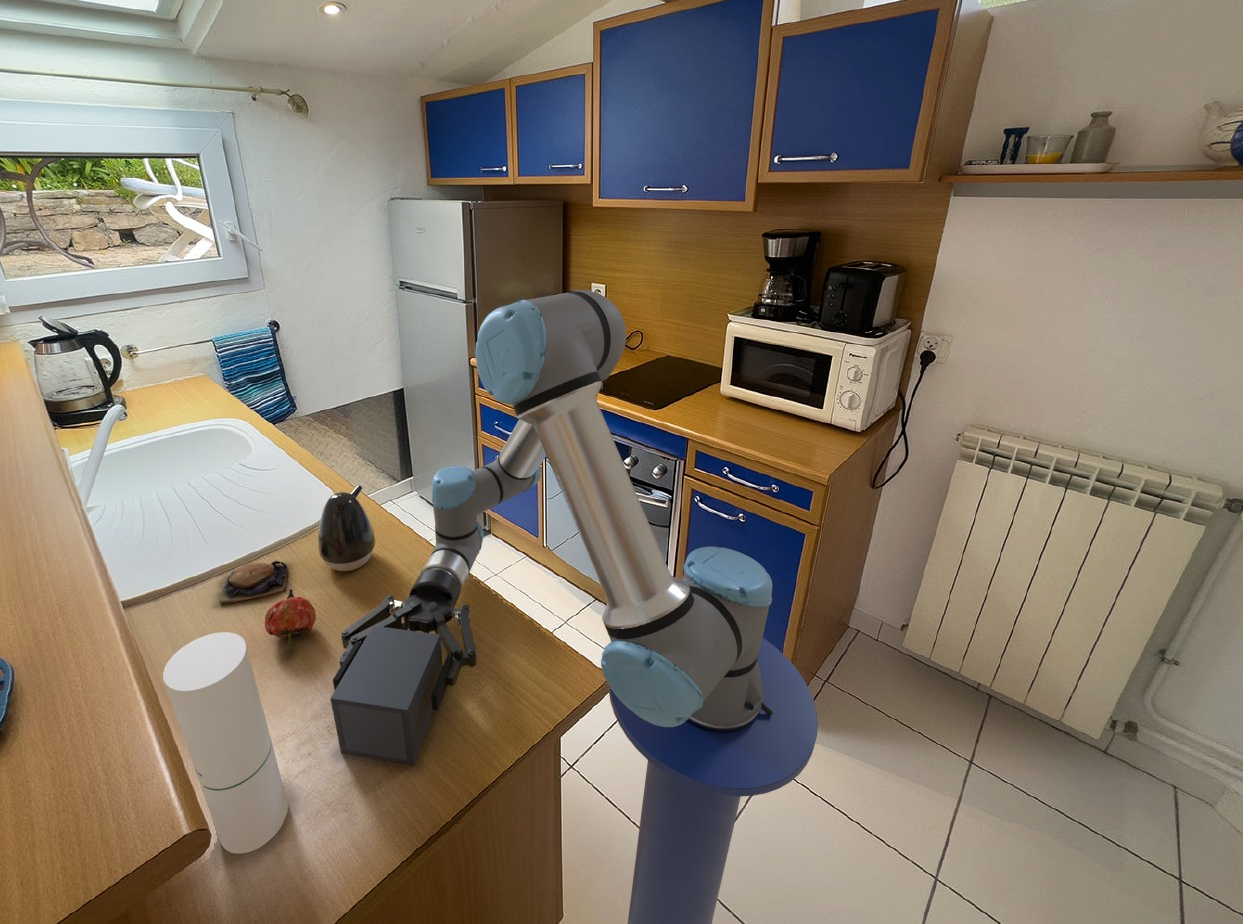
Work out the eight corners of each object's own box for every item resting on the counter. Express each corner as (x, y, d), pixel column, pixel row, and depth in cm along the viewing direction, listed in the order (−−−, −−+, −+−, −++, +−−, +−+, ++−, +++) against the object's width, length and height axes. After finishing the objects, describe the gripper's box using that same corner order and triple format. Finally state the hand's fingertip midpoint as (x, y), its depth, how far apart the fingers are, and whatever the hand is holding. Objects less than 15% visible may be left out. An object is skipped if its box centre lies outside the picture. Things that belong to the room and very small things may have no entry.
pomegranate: (320, 654, 89) (326, 590, 94) (300, 650, 83) (308, 582, 88) (274, 659, 89) (283, 595, 94) (250, 655, 83) (261, 586, 88)
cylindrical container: (266, 776, 69) (224, 622, 59) (300, 811, 65) (260, 653, 56) (207, 827, 64) (149, 666, 54) (239, 869, 60) (184, 704, 50)
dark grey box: (444, 686, 81) (440, 634, 78) (414, 765, 70) (407, 710, 67) (380, 676, 83) (373, 625, 79) (340, 753, 72) (330, 698, 68)
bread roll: (218, 607, 95) (213, 591, 94) (226, 576, 103) (222, 560, 101) (285, 593, 99) (281, 577, 97) (288, 564, 106) (285, 548, 105)
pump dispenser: (389, 553, 109) (381, 487, 104) (351, 586, 101) (340, 515, 95) (349, 539, 113) (339, 474, 107) (310, 570, 105) (297, 501, 99)
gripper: (513, 612, 92) (478, 729, 72) (371, 593, 95) (301, 701, 76) (512, 576, 89) (475, 688, 69) (366, 558, 92) (292, 660, 73)
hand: (384, 695), depth 73 cm, fingers open, 13 cm apart
